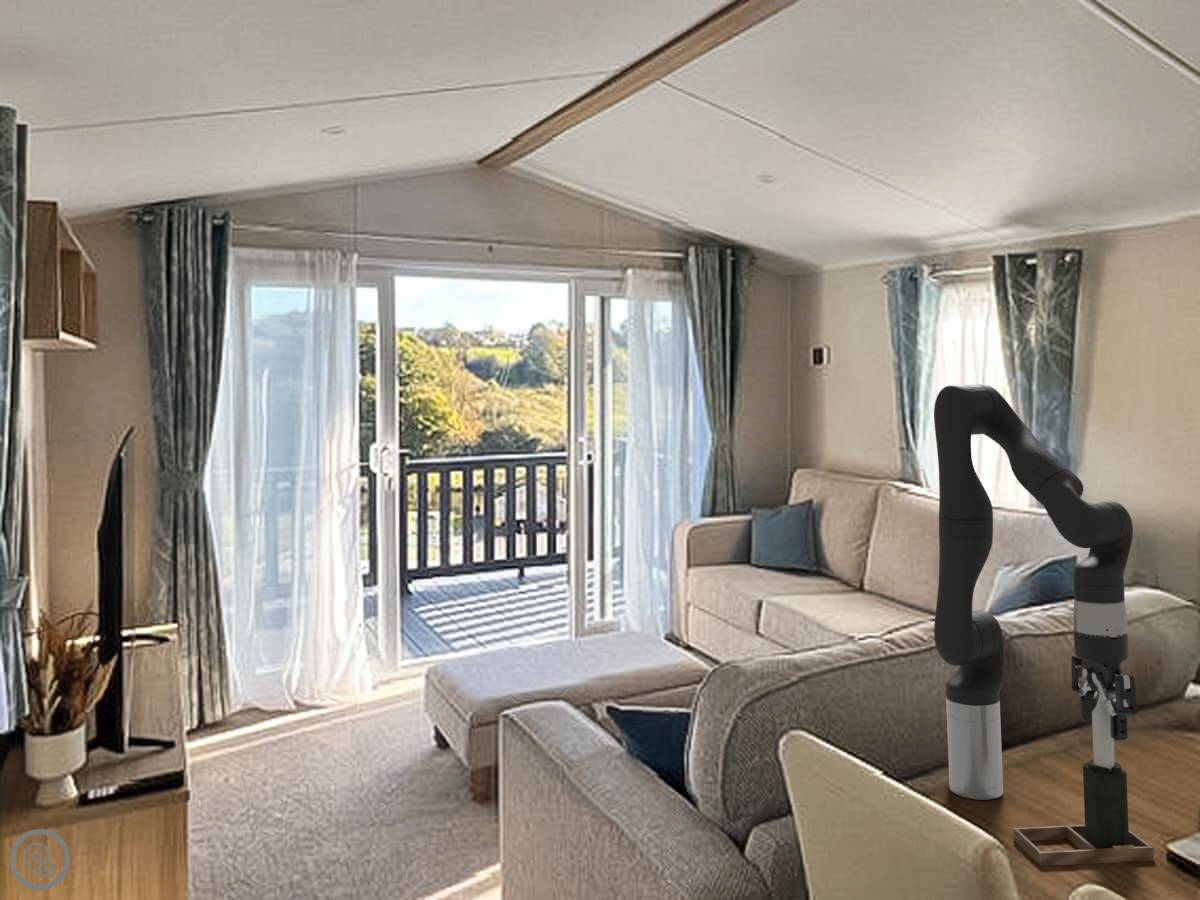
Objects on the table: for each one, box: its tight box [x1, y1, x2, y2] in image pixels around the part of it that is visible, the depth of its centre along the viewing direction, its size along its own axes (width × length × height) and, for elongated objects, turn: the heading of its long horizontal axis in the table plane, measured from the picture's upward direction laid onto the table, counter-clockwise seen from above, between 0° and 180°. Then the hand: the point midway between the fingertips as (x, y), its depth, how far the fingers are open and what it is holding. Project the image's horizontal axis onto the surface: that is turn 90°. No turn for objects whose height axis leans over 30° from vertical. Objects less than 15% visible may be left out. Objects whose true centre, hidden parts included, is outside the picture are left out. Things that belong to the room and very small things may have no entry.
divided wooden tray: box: [1012, 824, 1155, 867], centre depth 146 cm, size 18×9×2 cm, turn 91°
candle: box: [1082, 693, 1130, 849], centre depth 146 cm, size 5×5×25 cm
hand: (1103, 730), depth 145 cm, fingers open, 8 cm apart
